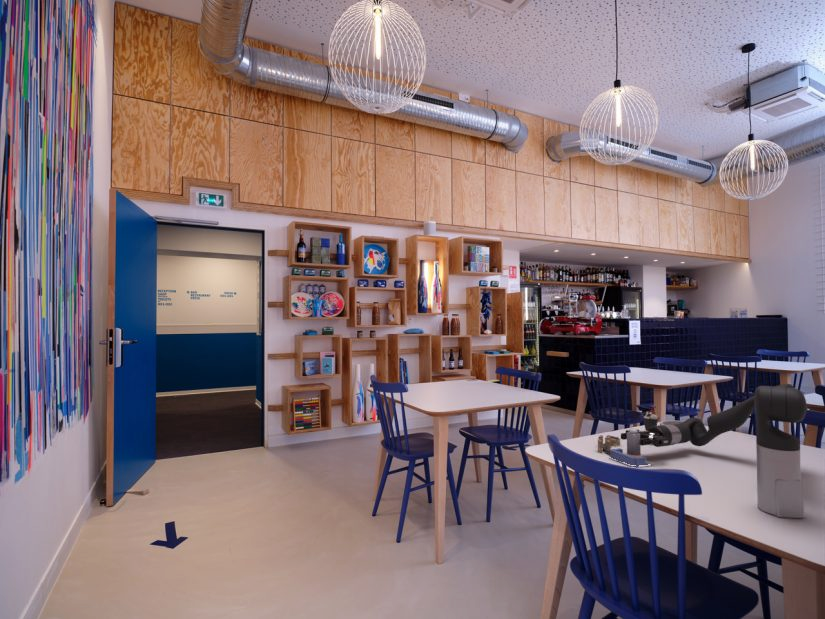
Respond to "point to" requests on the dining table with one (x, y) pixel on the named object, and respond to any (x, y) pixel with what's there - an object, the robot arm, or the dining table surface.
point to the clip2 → (606, 439)
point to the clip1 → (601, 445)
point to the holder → (627, 458)
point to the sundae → (650, 419)
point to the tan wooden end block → (614, 440)
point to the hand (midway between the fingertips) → (630, 439)
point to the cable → (606, 449)
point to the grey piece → (633, 443)
